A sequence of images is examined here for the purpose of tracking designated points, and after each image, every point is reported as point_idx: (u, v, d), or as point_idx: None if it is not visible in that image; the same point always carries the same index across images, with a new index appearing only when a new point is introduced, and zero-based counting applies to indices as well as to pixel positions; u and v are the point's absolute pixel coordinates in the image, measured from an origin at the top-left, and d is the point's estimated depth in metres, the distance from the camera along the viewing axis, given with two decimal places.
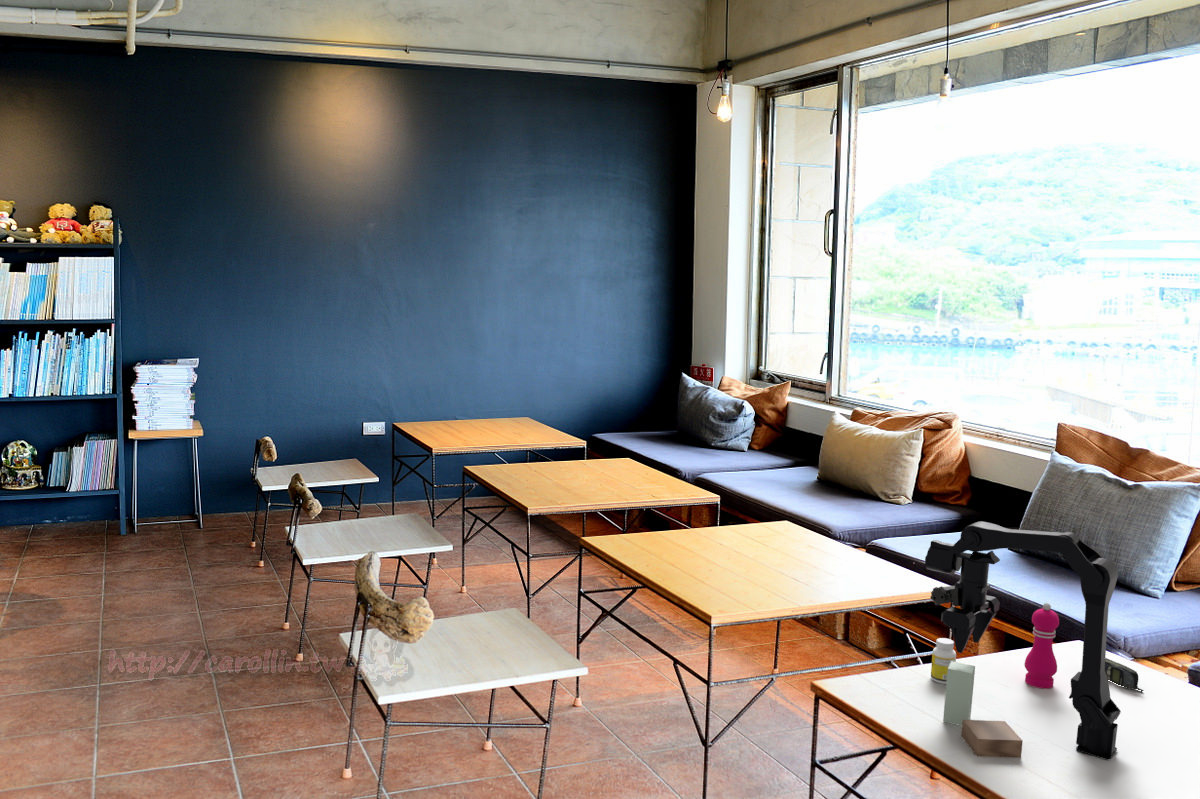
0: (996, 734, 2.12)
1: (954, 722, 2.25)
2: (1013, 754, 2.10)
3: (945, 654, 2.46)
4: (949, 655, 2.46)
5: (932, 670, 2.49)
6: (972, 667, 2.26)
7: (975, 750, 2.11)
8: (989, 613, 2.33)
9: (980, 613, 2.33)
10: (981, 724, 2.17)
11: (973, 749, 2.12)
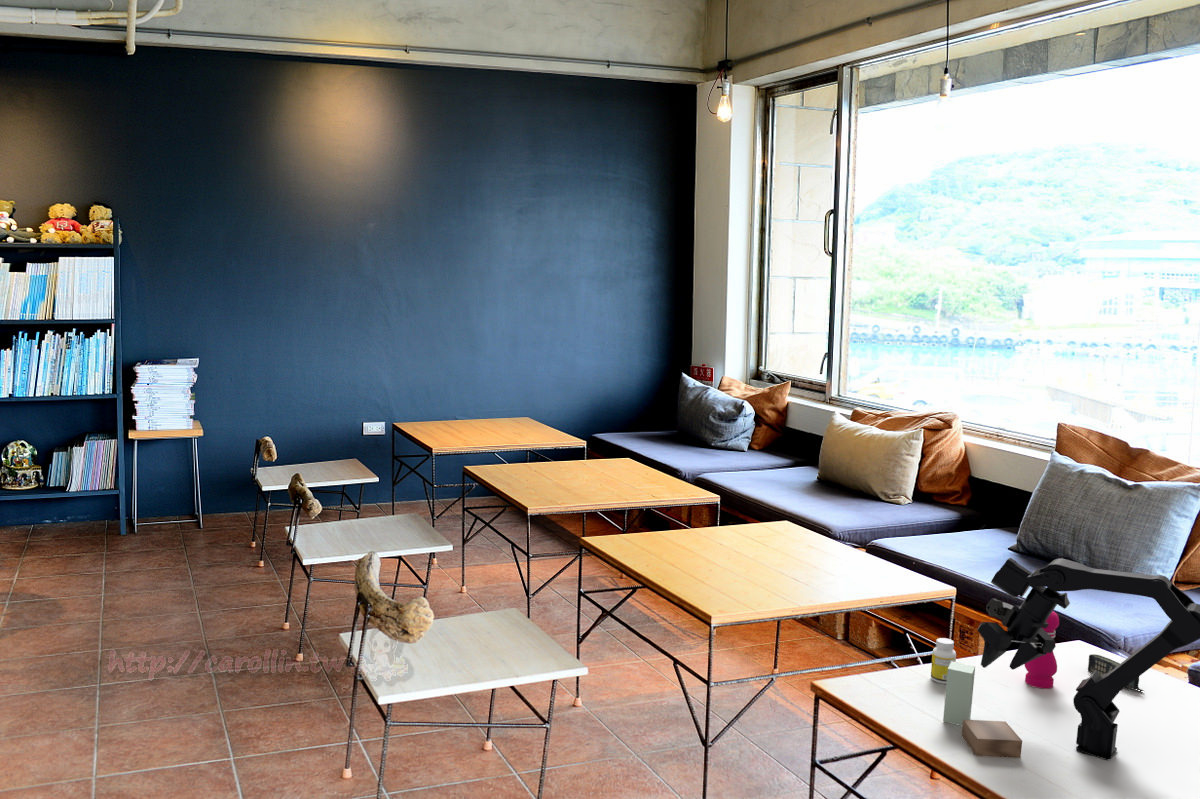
0: (996, 734, 2.12)
1: (954, 722, 2.25)
2: (1013, 754, 2.10)
3: (945, 654, 2.46)
4: (949, 655, 2.46)
5: (932, 670, 2.49)
6: (972, 667, 2.26)
7: (974, 750, 2.11)
8: (1038, 650, 2.24)
9: (1029, 645, 2.25)
10: (981, 724, 2.17)
11: (973, 749, 2.12)
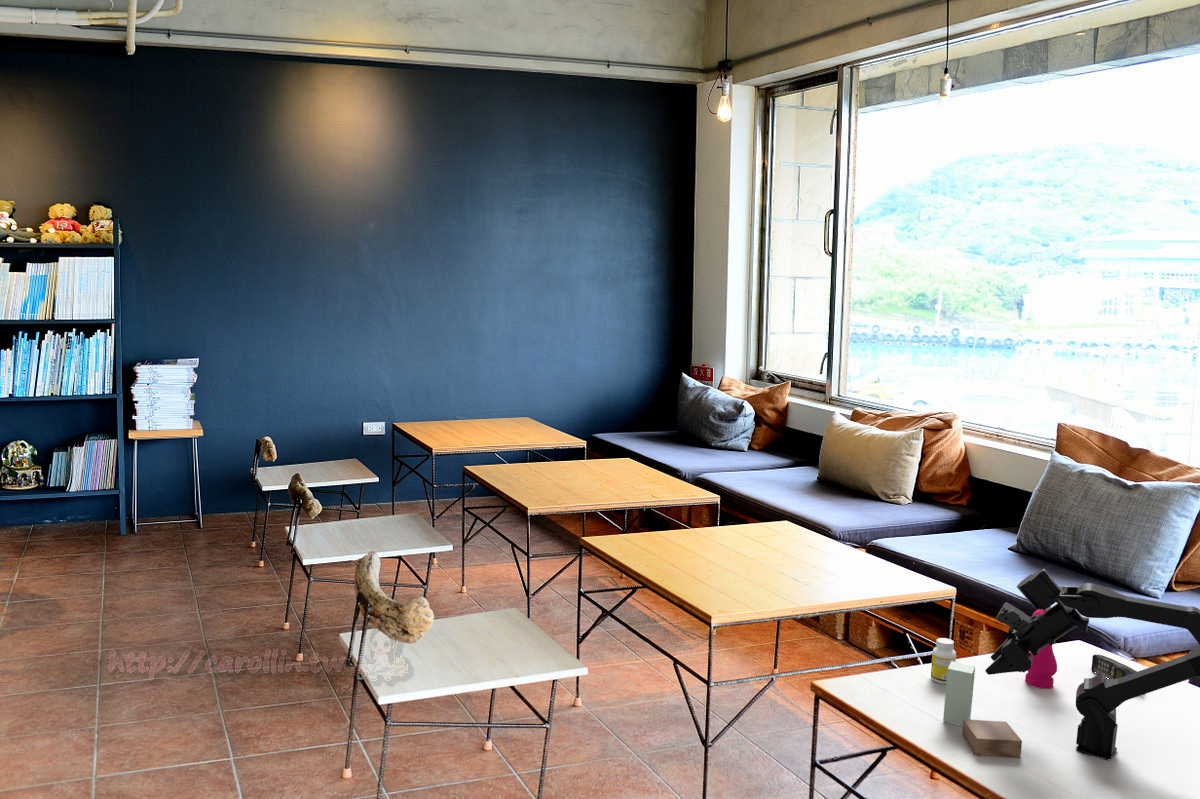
0: (996, 734, 2.12)
1: (954, 722, 2.25)
2: (1012, 754, 2.10)
3: (945, 654, 2.46)
4: (949, 655, 2.46)
5: (932, 670, 2.49)
6: (972, 667, 2.26)
7: (974, 750, 2.11)
8: None
9: None
10: (981, 724, 2.17)
11: (973, 749, 2.12)
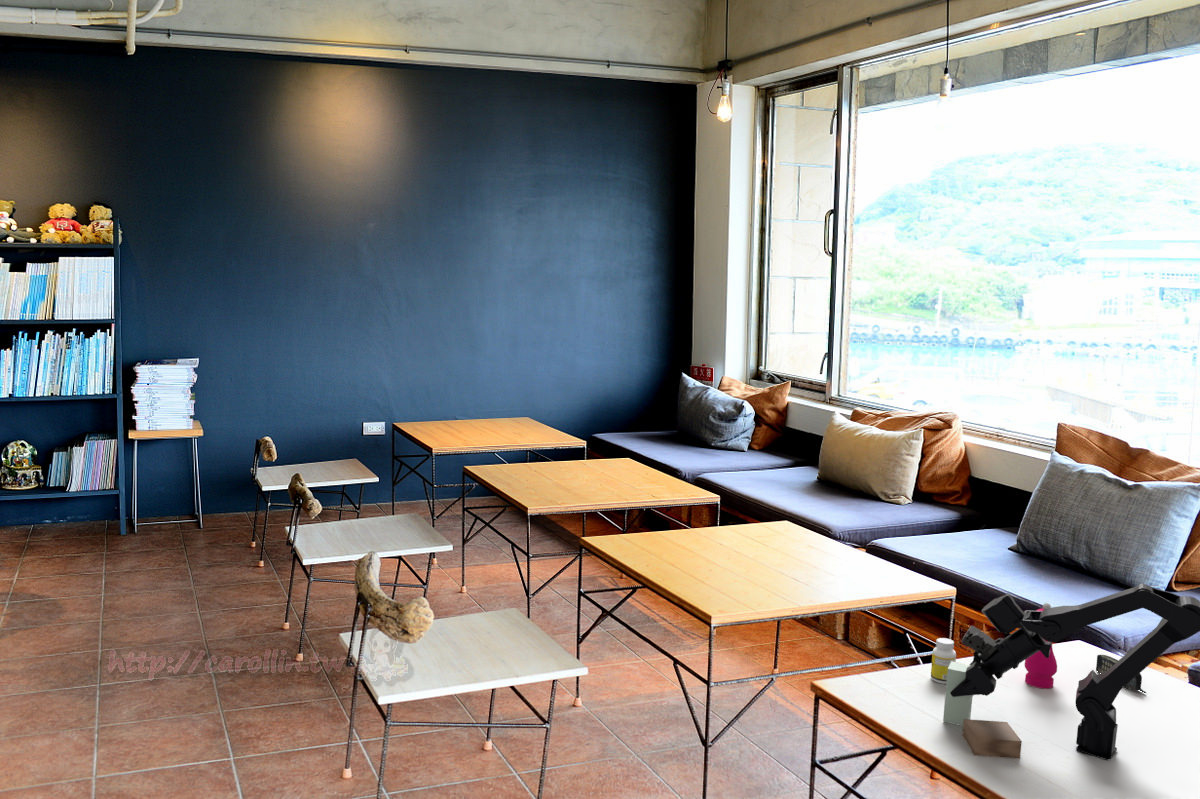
0: (996, 734, 2.12)
1: (954, 722, 2.25)
2: (1012, 754, 2.10)
3: (945, 654, 2.46)
4: (949, 655, 2.46)
5: (932, 670, 2.49)
6: None
7: (973, 750, 2.11)
8: None
9: None
10: (982, 724, 2.17)
11: (972, 748, 2.12)
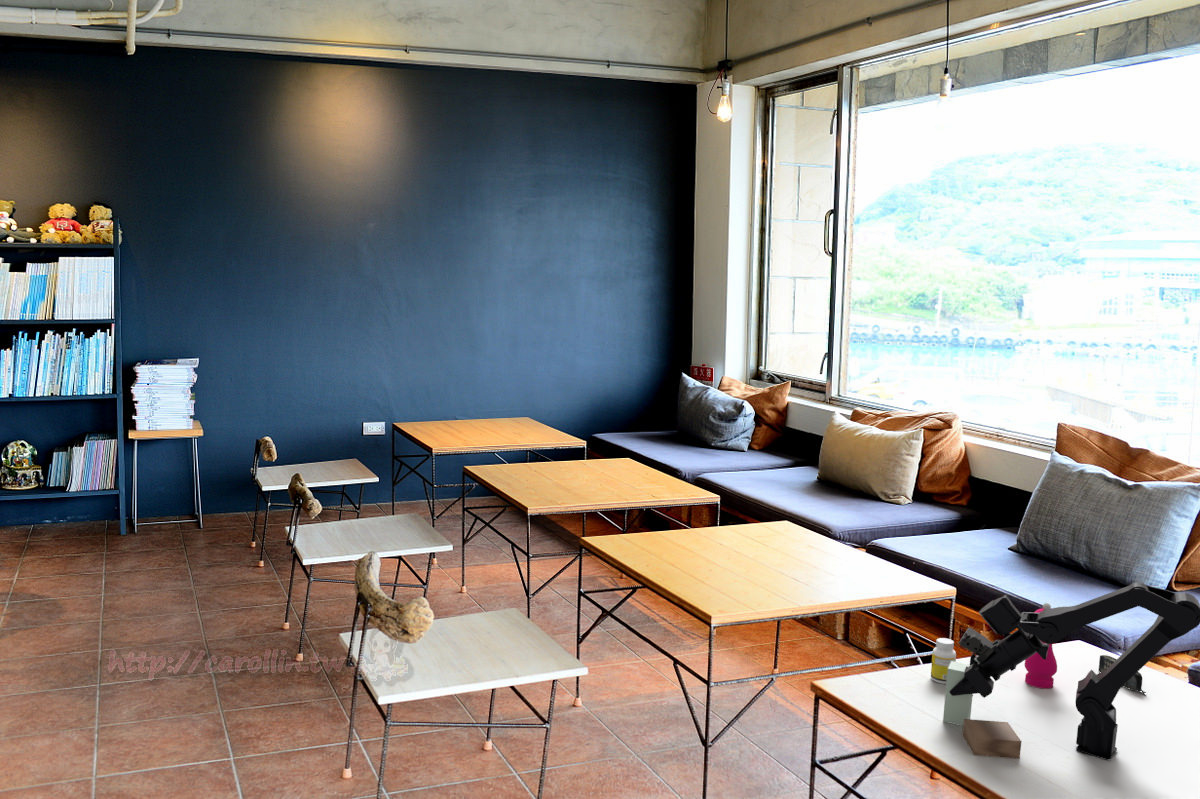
0: (995, 734, 2.12)
1: (954, 722, 2.25)
2: (1012, 754, 2.10)
3: (945, 654, 2.46)
4: (949, 655, 2.46)
5: (932, 670, 2.49)
6: None
7: (973, 749, 2.11)
8: None
9: None
10: (982, 724, 2.17)
11: (972, 748, 2.12)
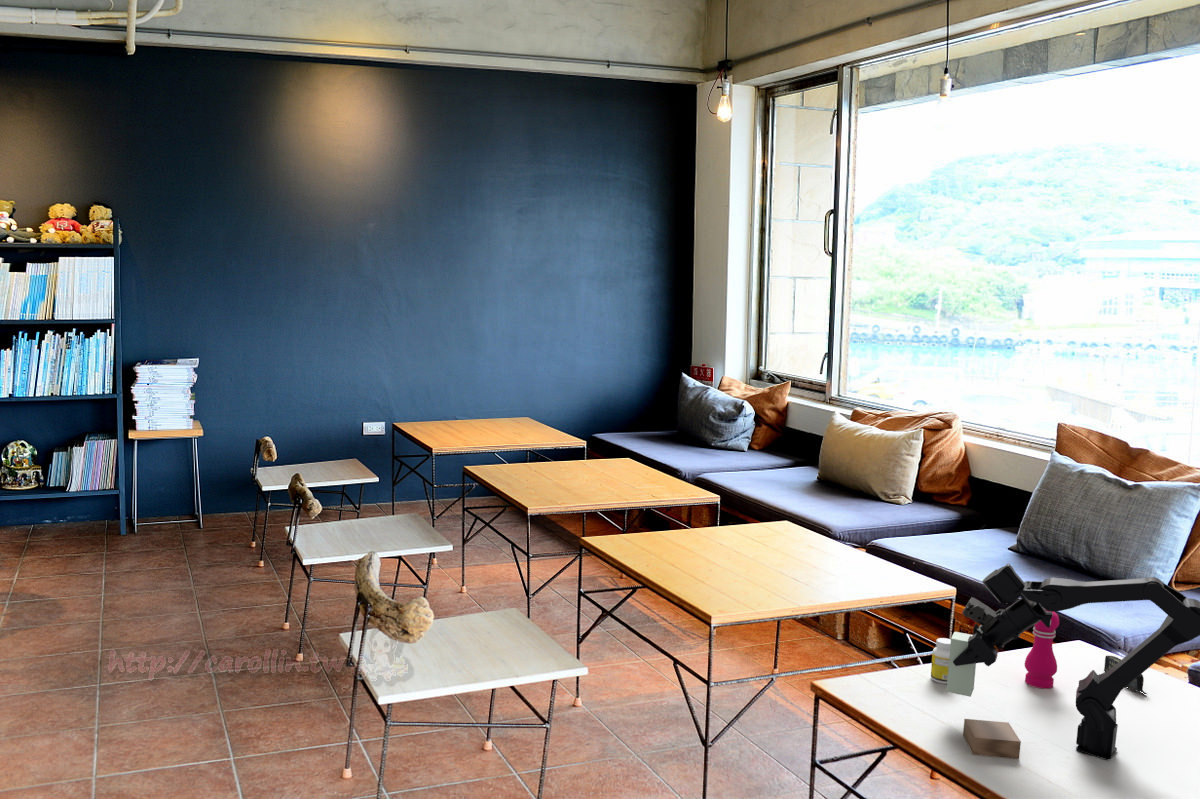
0: (995, 734, 2.12)
1: (957, 692, 2.24)
2: (1011, 754, 2.10)
3: (945, 654, 2.46)
4: (949, 655, 2.46)
5: (932, 670, 2.49)
6: None
7: (972, 749, 2.12)
8: None
9: None
10: (982, 724, 2.17)
11: (971, 748, 2.12)
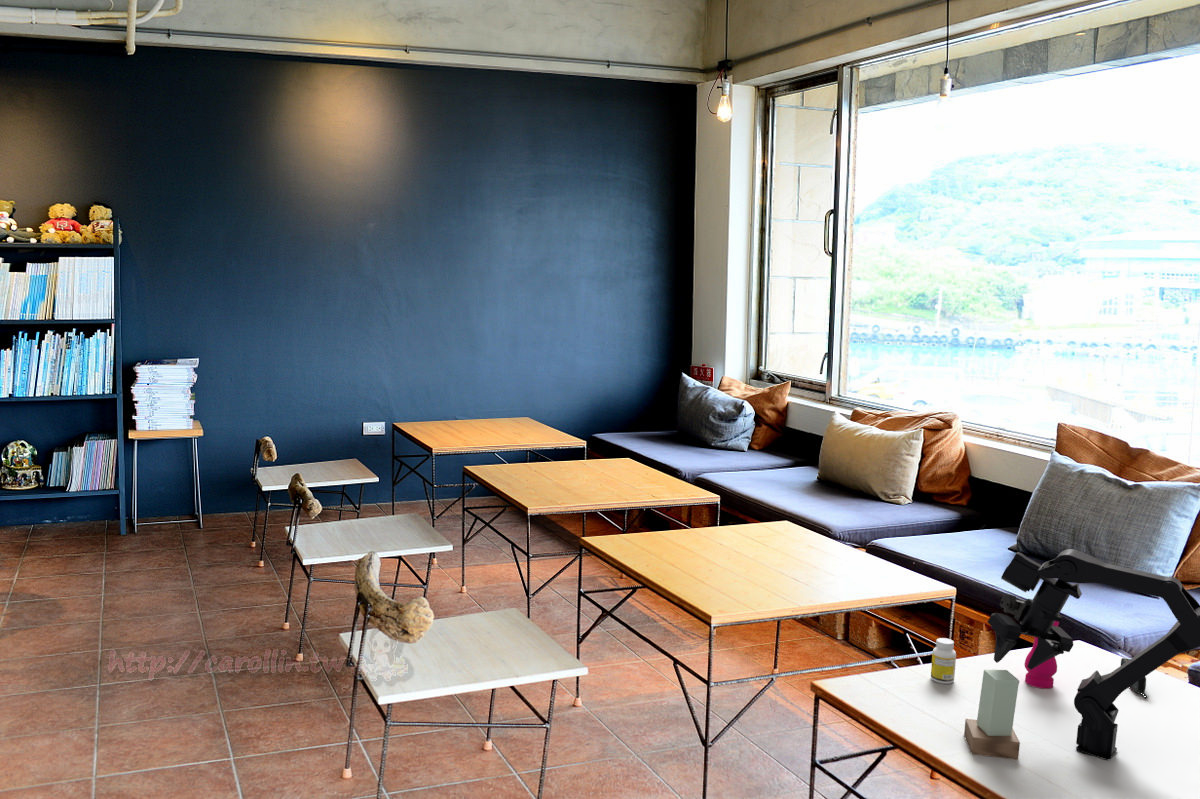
0: None
1: (999, 734, 2.12)
2: (1010, 755, 2.10)
3: (945, 654, 2.46)
4: (949, 655, 2.46)
5: (932, 670, 2.49)
6: (1007, 672, 2.14)
7: (971, 749, 2.12)
8: (1054, 648, 2.20)
9: (1046, 644, 2.22)
10: None
11: (970, 747, 2.13)
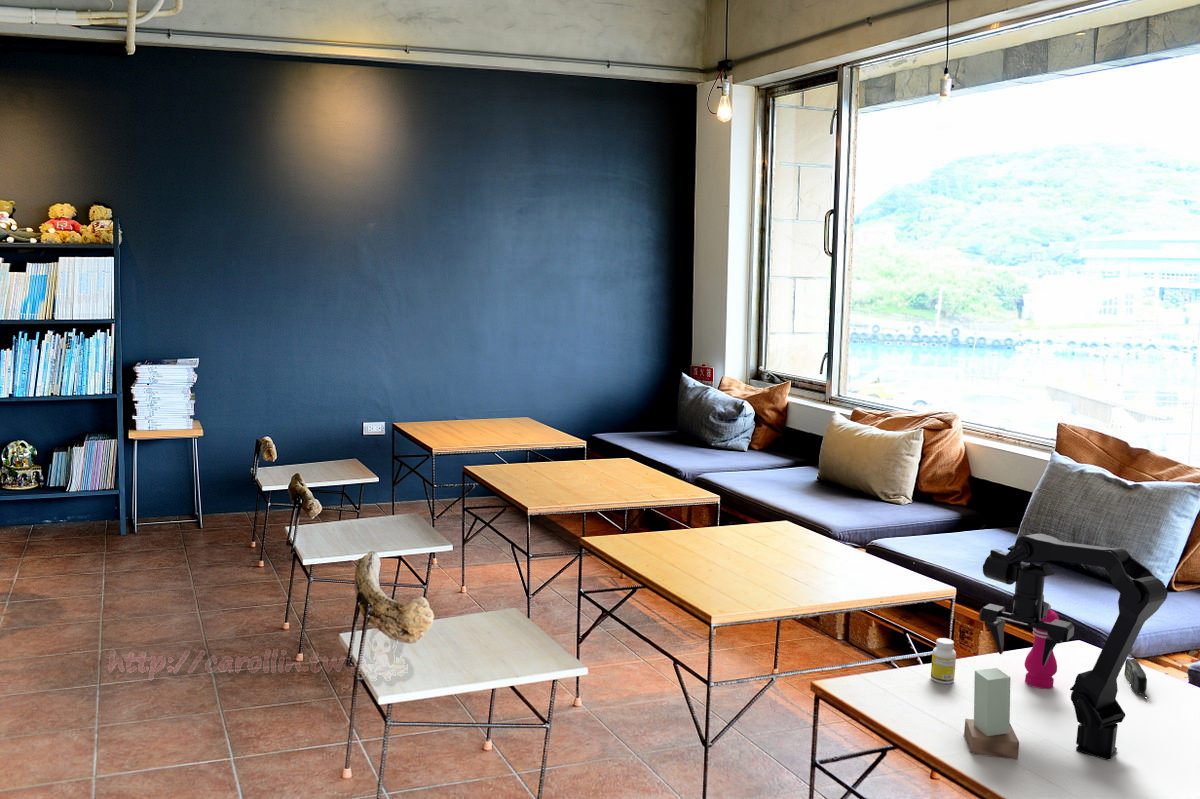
0: None
1: (997, 733, 2.12)
2: (1009, 755, 2.10)
3: (945, 654, 2.46)
4: (949, 655, 2.46)
5: (932, 670, 2.49)
6: (998, 670, 2.14)
7: (970, 749, 2.12)
8: (1050, 638, 2.23)
9: (1048, 636, 2.25)
10: None
11: (969, 747, 2.13)
